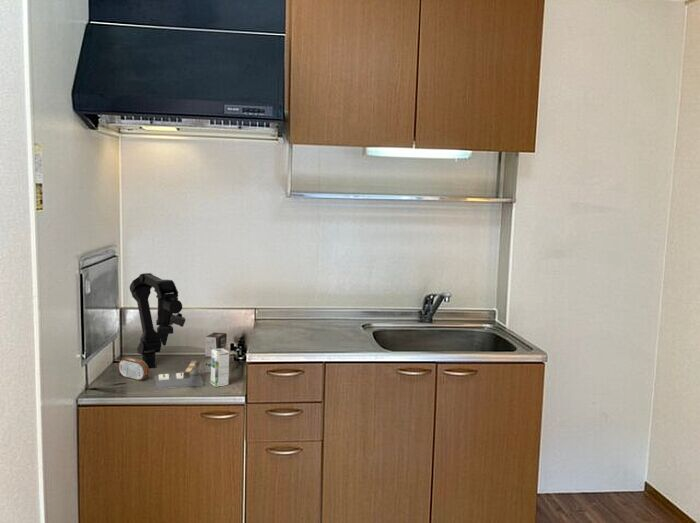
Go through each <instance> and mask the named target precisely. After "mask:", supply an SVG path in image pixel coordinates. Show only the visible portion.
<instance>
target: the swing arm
mask: <svg viewBox="0 0 700 523" xmlns="http://www.w3.org/2000/svg"><path fill="white" fill-rule="evenodd" d="M189 362H190V363H189V364H188V366H187V368H186V369H185V371H184V372H183V373H184V374H183V378H185V379H189V378H190V376H191V374H192V372H193V371H194V369H195V368H196V366H198V367H199V366H200V359H198V358H191V359H190V361H189Z"/></svg>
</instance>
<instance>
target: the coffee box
mask: <svg viewBox="0 0 700 523" xmlns="http://www.w3.org/2000/svg"><path fill="white" fill-rule="evenodd" d="M227 336H228V334H227V333H225V332H212V333H210V334H209V335H206V336H205V349H204V350H205V351H204V352H205V353H204V359H205V360H204V372H205V373H211V355H212V350H214V349H225V350H227V343H228V342H227V341H228V340H227Z"/></svg>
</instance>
